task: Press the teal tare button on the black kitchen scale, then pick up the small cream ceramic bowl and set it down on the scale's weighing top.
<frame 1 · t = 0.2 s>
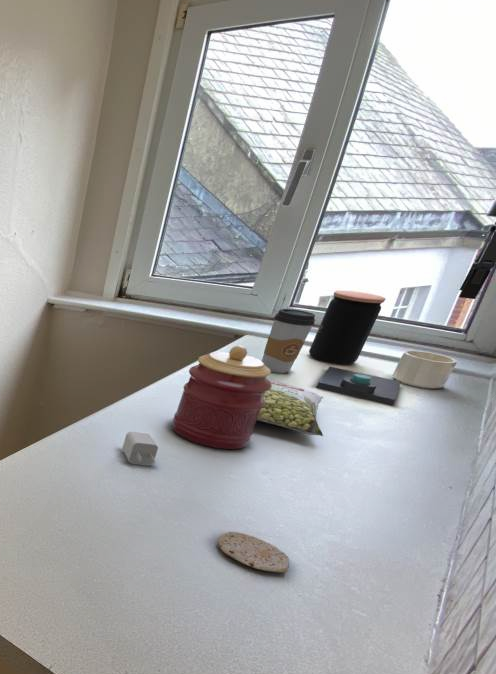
hand: (466, 294, 131), 22 cm above the counter, tool pointing down, fingers open, 13 cm apart
usb wall charger: (138, 463, 94), on the counter
tare button: (361, 379, 127), point 3 cm above the counter, slide at 0.1 cm
bowl: (416, 382, 138), on the counter
frozen beans: (257, 413, 116), on the counter
kitchen canister: (207, 435, 105), on the counter
coffee cup: (273, 369, 143), on the counter
flatbread: (251, 556, 72), on the counter
scale: (357, 387, 133), on the counter
coffee jar: (330, 360, 153), on the counter
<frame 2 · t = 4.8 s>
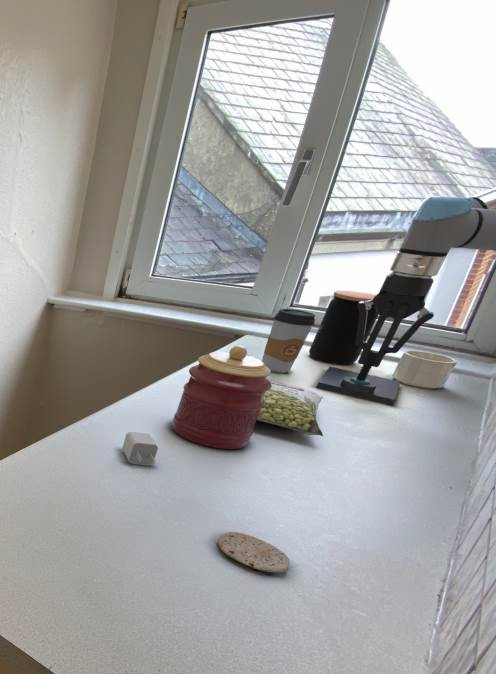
hand: (361, 378, 127), 4 cm above the counter, tool pointing down, fingers closed
tare button: (359, 383, 128), point 3 cm above the counter, slide at -0.7 cm, touching gripper
everything else where it was.
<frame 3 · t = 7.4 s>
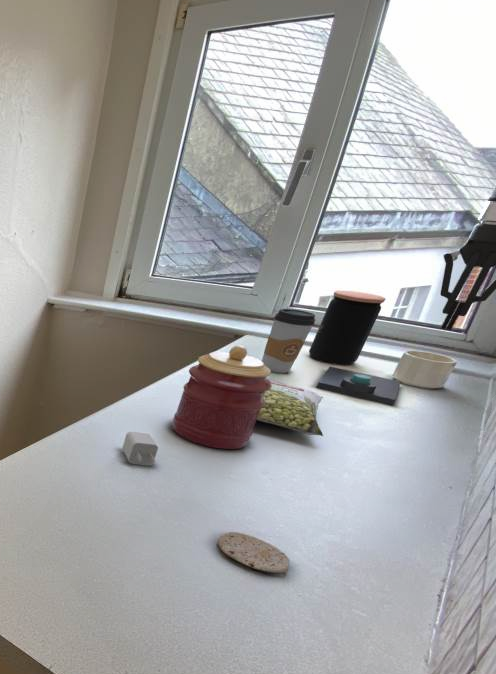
hand: (445, 328, 131), 14 cm above the counter, tool pointing down, fingers closed
tare button: (361, 379, 127), point 3 cm above the counter, slide at 0.1 cm
everything else where it was.
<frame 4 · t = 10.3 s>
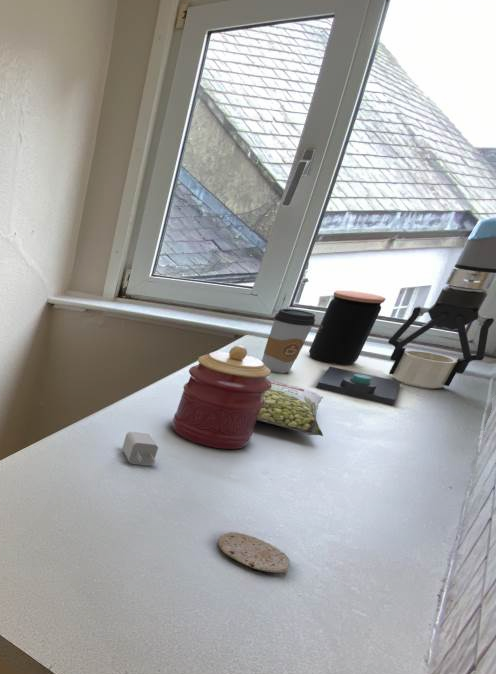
hand: (418, 378, 137), 1 cm above the counter, tool pointing down, fingers closed on bowl, 10 cm apart
bowl: (416, 382, 138), on the counter, touching gripper
everything else where it was.
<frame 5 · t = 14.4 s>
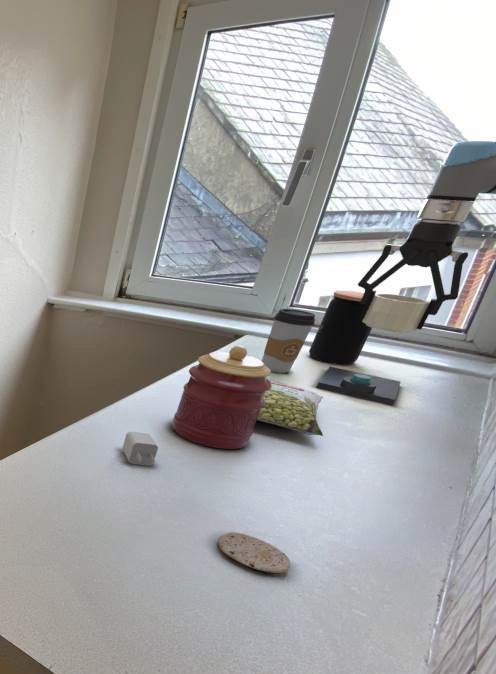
hand: (389, 323, 128), 15 cm above the counter, tool pointing down, fingers closed on bowl, 10 cm apart
bowl: (387, 328, 129), point 14 cm above the counter, touching gripper
everything else where it was.
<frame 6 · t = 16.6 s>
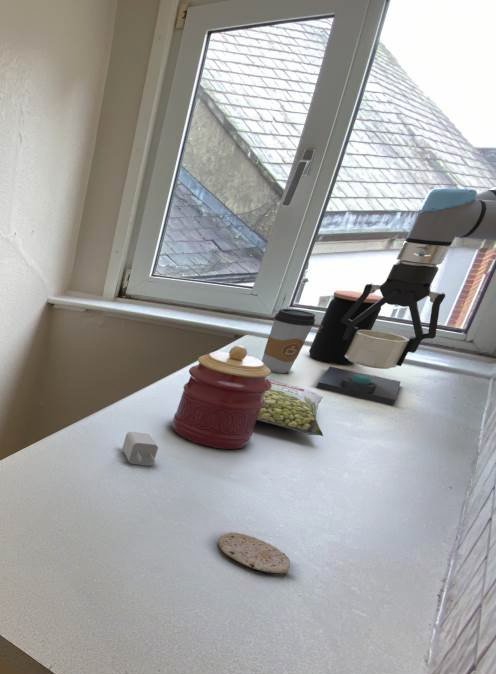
hand: (370, 358, 132), 7 cm above the counter, tool pointing down, fingers closed on bowl, 10 cm apart
bowl: (368, 363, 132), point 5 cm above the counter, touching gripper
everything else where it was.
when the fingers open (2 cm above the counter, at t = 18.4 s): bowl stays where it is, resting on scale.
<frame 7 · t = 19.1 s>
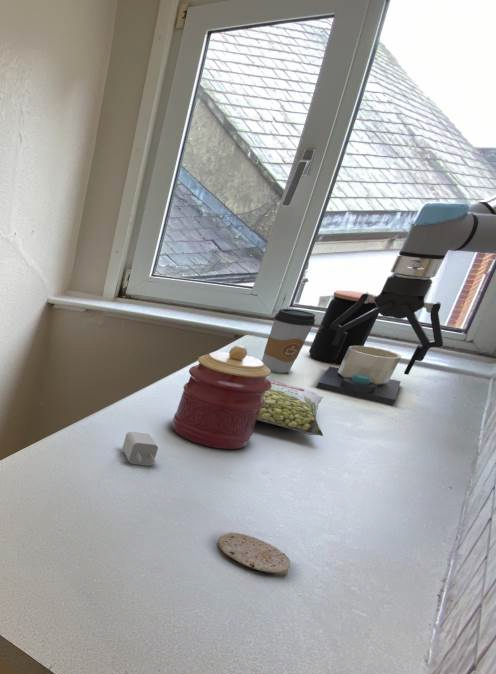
hand: (368, 365, 133), 5 cm above the counter, tool pointing down, fingers open, 13 cm apart
bowl: (361, 378, 134), point 1 cm above the counter, touching scale
everything else where it was.
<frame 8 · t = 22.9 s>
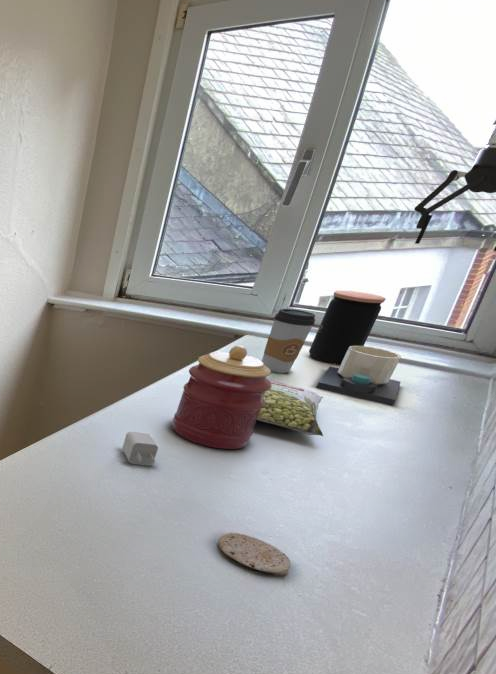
hand: (454, 247, 131), 32 cm above the counter, tool pointing down, fingers open, 13 cm apart
nothing on the counter moved.
at the end: tare button pushed in 0.8 cm at the most during the clip, back to where it started at the end; bowl inside the target area on the scale (0.0 cm from its centre), point 1.4 cm above the scale's base; bowl touching scale; bowl tilted 0° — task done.
